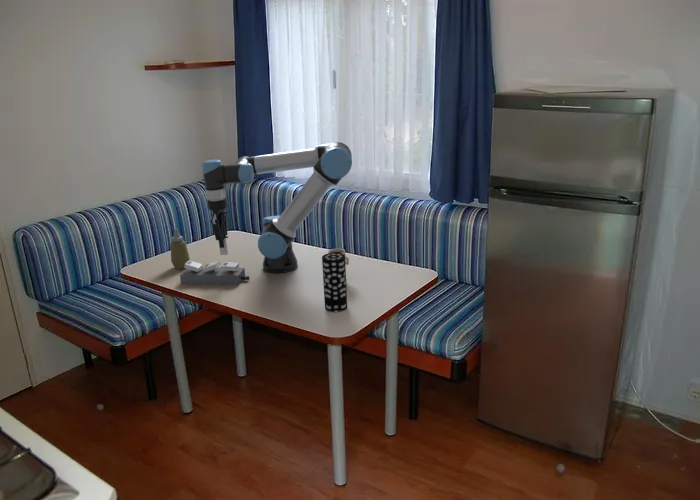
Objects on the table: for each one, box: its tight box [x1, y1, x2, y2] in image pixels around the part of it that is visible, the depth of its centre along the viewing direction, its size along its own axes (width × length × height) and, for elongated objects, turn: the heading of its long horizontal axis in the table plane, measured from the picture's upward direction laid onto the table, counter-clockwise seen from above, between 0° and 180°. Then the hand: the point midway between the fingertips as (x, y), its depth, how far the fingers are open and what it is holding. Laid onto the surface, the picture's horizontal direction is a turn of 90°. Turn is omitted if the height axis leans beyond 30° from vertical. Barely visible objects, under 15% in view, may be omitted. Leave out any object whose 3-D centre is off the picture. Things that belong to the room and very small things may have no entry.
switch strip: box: [179, 266, 250, 286], centre depth 245 cm, size 28×9×5 cm, turn 83°
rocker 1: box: [184, 259, 204, 272], centre depth 245 cm, size 6×5×2 cm
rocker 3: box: [220, 261, 240, 271], centre depth 243 cm, size 6×5×2 cm
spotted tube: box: [321, 252, 348, 313], centre depth 213 cm, size 8×8×20 cm
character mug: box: [327, 248, 350, 266], centre depth 238 cm, size 11×7×13 cm, turn 60°
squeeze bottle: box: [170, 228, 191, 270], centre depth 259 cm, size 8×8×18 cm
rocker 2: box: [203, 260, 222, 272], centre depth 244 cm, size 6×5×2 cm
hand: (224, 254), depth 241 cm, fingers closed
